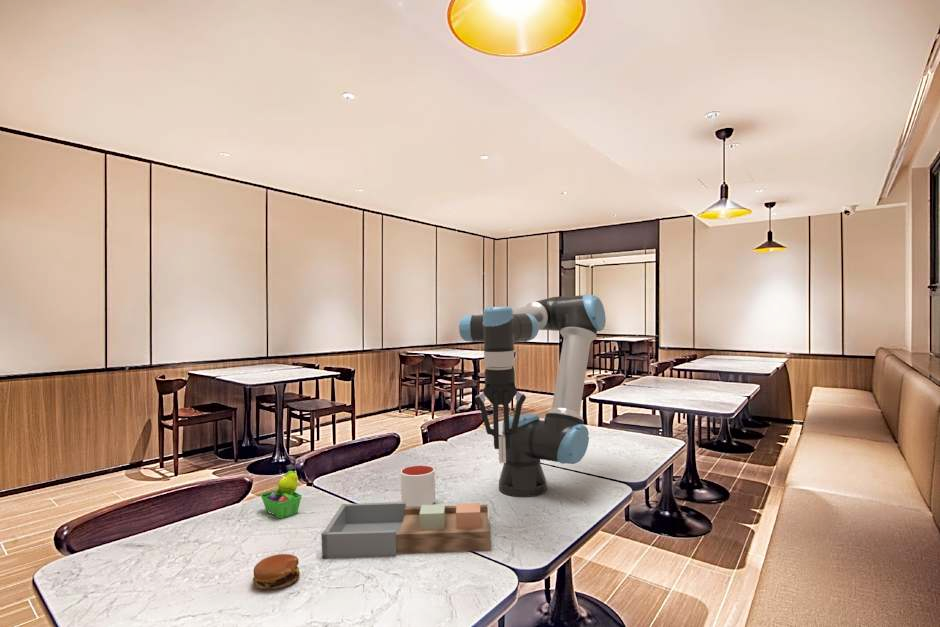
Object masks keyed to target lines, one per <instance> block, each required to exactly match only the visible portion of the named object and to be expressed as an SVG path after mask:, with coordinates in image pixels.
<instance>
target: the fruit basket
mask: <svg viewBox="0 0 940 627" xmlns="http://www.w3.org/2000/svg"><path fill="white" fill-rule="evenodd" d="M298 479H299V476H298V475H297V472H296V471H293V470H288V471H287V472H286V474H285V475H284V476H283V477H281V479H279V480H278V482H277V487H278V489H273V491H269V492H265V493H262V494H260V497H261V498H260V499H262V502H263V505H264V507H265V508H264V509H265V511H266V510H267V511H269V512H271V513H273V514H274V515H276V516H278V517H279V518H278V517H277V518H278V519H280V518H282V519H284V518H283V517H285V518H288V517H291V516H293V515H297V514H298V512H299V507H300V503H301V500H302V497H303V495H302V494H299V493H298V492H296V490H297V489H298ZM296 513H297V514H296ZM274 515H273V516H274ZM290 515H291V516H290ZM276 516H275V517H276ZM287 516H288V517H287Z"/></svg>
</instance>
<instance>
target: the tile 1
mask: <svg viewBox="0 0 940 627" xmlns="http://www.w3.org/2000/svg"><path fill="white" fill-rule="evenodd" d="M445 506H446V504H445V503H443V504H442V503H440V504H437V503H436V504H432V505H422V506H421V510H420V514H419V517H420V530H444V528H445Z"/></svg>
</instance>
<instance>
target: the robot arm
mask: <svg viewBox="0 0 940 627" xmlns="http://www.w3.org/2000/svg"><path fill="white" fill-rule="evenodd" d="M605 311H606V310H605V308H604V304H603V302H602V300H601V299H600V298H599V297H598V295H595V294H594V295H593V294H592V295H591V294H589V295H588V294H583V295H567V296H565V295H564V296H563V295H562V296H553V297H548V298H544V299H540V300H537V301H532V302H528V303H527V304H526V305H525V306H522V307H518V308H517V307H516V308H512V307H511V306H489V307H485V308H484V309H483V314H476V315H474V314H471V315H464V316H463V317H462V318H461V320H460V321H459V325H458V329H459V331H458V332H459V336H460V337H461V339H462V340H463V341H465V342H470V343H471V342H472V343H476V342H477V343H478V342H479V343H480V342H483V347H484V348H483V358H484V359H483V361H484V367H485V369H484V388H483V390H482V392H481V393H480V394H477V395H475V397H474V398H475V399H474V400H475V402H476V403H477V404H478V406H479V409H480V413H481V416H482V420H483V423H484V428H485V431H486V434H487V435H489V436H490V435H491V436H493V446H494V449H495V450H498V462H499V464H503V466H502V469H501V473H500V476H499V480H498V490H499V492H501V493H502V494H504V495H506V496H507V495H508V496H511V497H521V498H522V497H525V498H526V497H535V496H539V495H542V494H544V493H546V491H547V490H548V486H547V485H548V482H547V479H546V476H545V474H544V470H543V468H542V465H541V460H544V461H550V462H557V463H560V464H562V465H564V464H570V465H573V464H577V463H579V462H581V460H582V459H583V458H584V457H585V454H586V453H587V450H588V447H589V442H590V441H589V440H590V436H589V430H588V428H587V426H586V425H584V422H585V421H584V419H583V417H582V416H581V414H580V413H581V408H582V401H583V394H584V388H585V381H586V380H585V379H586V375H587V367H588V361H589V354H590V350H591V349H590V348H591V343H592V342H593V341H595V340H596V339H597V335H598V334H597V333H598V332H600V331H603V330H604V328H605V327H606V320H607V319H606V317H607V316H606V312H605ZM539 331H555V332H556V331H557V332H559V333H560V335H561V336H562V339H563V340H562V341H563V342H562V345H561V352H560V357H559V364H558V369H557V375H556V382H555V388H554V392H553V397H552V398H553V399H552V405H551V409H550V410H548V411H547V412H546V413H545V416H544V420H542V419H541V420H540V415H539V414H538V413H524V414H521V412H522V408H523V404H524V402H525V401H526V400H527V396H526V395H525V393H521V392H519V391H518V389H517V386H516V379H515V368H513V367H514V366H515V350H514V343H526V342H528V341H532V340H534V339H535V338H536V337H537V336H538V333H539ZM485 398H486V399H487V400H488V401H489V402H490V404H492V421H493V422H492V423H493V424H492V425H493V426H492V427H493V428H491V425H490V420H489V416H488V412H487V409H486V404H485V401H486V399H485ZM514 398H515V400H516V402H515V408H514V413H513V415H512V416H510V410H509V409H510V408H509V405H510V404H511V402H512V401H513V399H514ZM501 405H502V411H503V422H502V431H501V434H499V433H500V432H499V429H500V428H499V406H501Z"/></svg>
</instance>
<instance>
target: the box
mask: <svg viewBox="0 0 940 627" xmlns="http://www.w3.org/2000/svg"><path fill="white" fill-rule="evenodd" d="M405 507H406V502H402V501H397V502H394V501H393V502H390V501H389V502H366V503H365V502H362V503H359V502H358V503H342V504H341V505H340V506H339V507H338V510H337V511H336V512H335V514H334V515H333V517H332V519H331V520H330V521H329V523H328V524H327V526H326V527H325V529H324V530H323V532H322V533H321V558H322V559H334V558H335V559H337V558H341V559H343V558H370V557H371V558H372V557H397V555H398V554H397V545H396V534H397V532H399V531H400V528H401V525H402V522H403V519H404V516H405Z"/></svg>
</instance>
